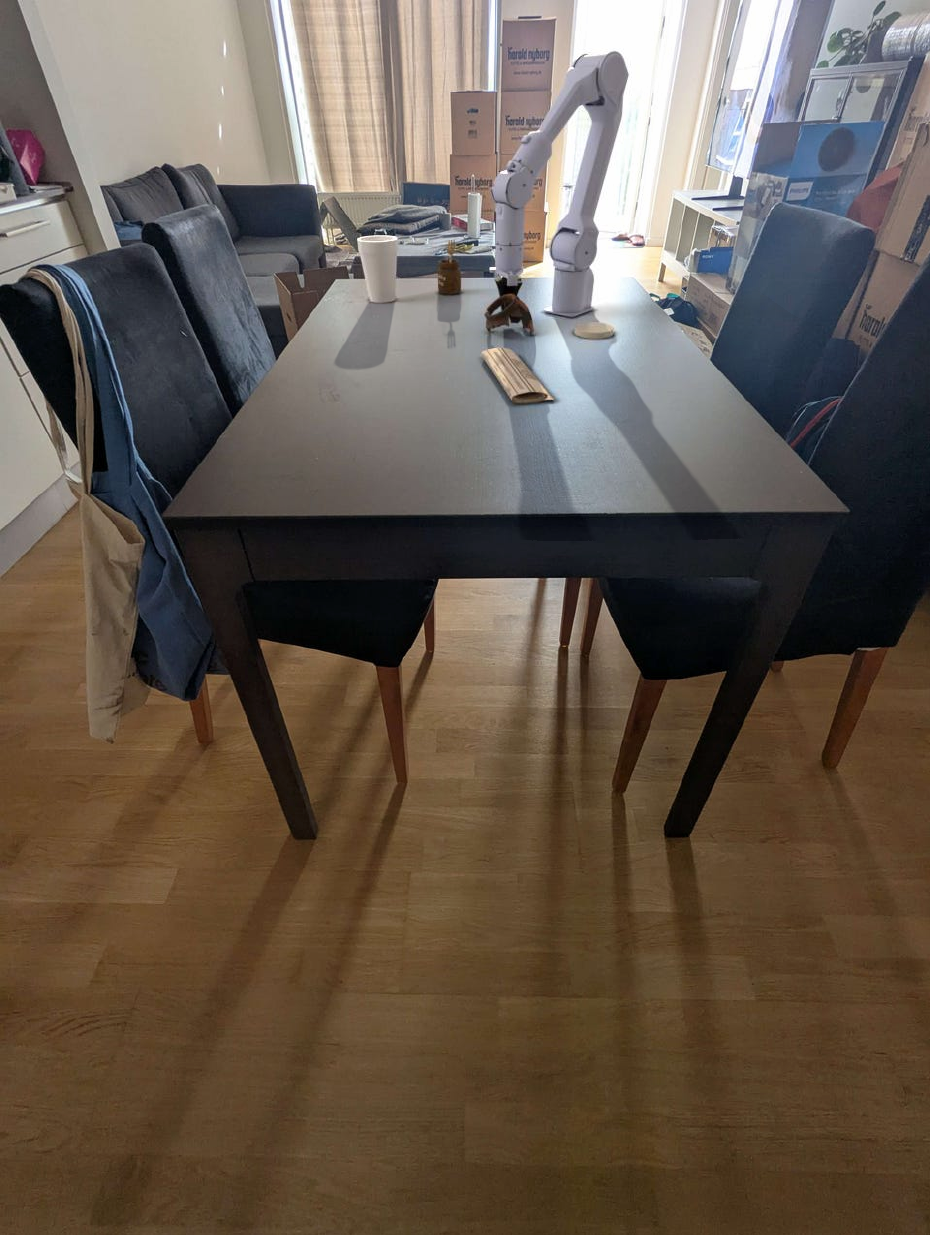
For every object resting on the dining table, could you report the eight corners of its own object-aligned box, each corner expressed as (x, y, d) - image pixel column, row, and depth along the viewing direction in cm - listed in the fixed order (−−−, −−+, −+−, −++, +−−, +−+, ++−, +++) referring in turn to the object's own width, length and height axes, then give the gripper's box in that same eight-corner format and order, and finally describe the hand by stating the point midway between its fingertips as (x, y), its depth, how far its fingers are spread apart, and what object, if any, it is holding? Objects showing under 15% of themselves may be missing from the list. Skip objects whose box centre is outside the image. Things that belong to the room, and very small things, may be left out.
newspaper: (481, 358, 116) (481, 348, 115) (517, 356, 117) (518, 346, 116) (511, 404, 98) (512, 393, 97) (554, 400, 99) (554, 389, 98)
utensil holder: (457, 288, 160) (456, 235, 152) (464, 294, 155) (463, 239, 147) (435, 290, 159) (433, 236, 151) (441, 296, 154) (439, 240, 146)
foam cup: (409, 298, 153) (405, 237, 144) (386, 306, 147) (380, 243, 138) (379, 293, 157) (373, 234, 148) (355, 301, 151) (348, 239, 142)
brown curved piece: (536, 342, 125) (518, 306, 119) (495, 360, 129) (476, 326, 124) (540, 310, 132) (523, 275, 126) (501, 329, 136) (483, 295, 131)
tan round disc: (587, 325, 132) (588, 319, 131) (620, 332, 128) (621, 326, 127) (566, 334, 127) (567, 328, 127) (599, 341, 123) (600, 335, 123)
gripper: (486, 238, 131) (486, 307, 139) (493, 250, 119) (492, 325, 128) (519, 237, 131) (516, 306, 140) (529, 249, 120) (525, 324, 129)
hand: (507, 315), depth 134 cm, fingers closed
